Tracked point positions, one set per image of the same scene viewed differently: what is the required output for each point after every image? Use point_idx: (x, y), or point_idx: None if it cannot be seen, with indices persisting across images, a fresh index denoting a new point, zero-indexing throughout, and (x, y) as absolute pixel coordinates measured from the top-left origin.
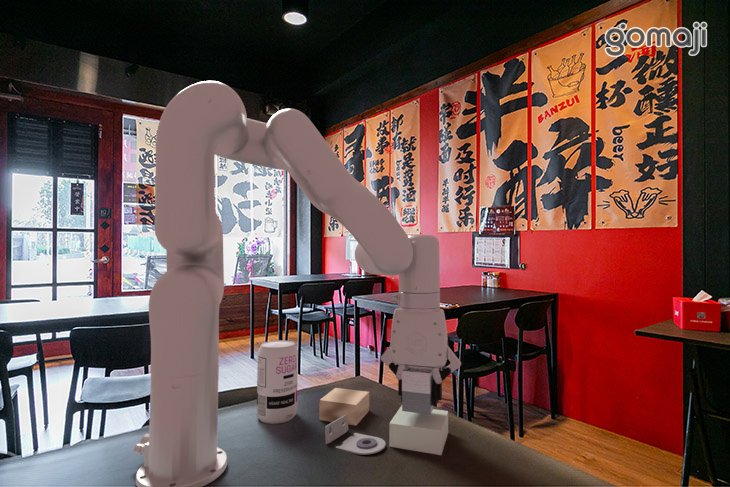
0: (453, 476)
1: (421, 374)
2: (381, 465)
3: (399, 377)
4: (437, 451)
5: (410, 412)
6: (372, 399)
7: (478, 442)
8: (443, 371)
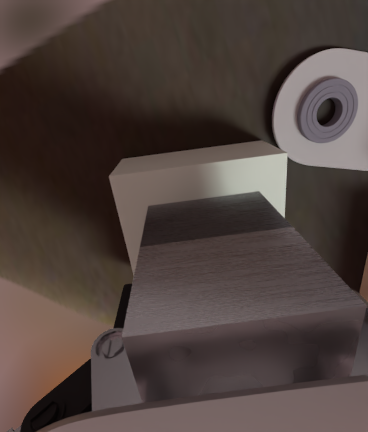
0: (52, 63)
1: (194, 316)
2: (253, 20)
3: None
4: (131, 159)
5: None
6: None
7: (69, 258)
8: (72, 414)
